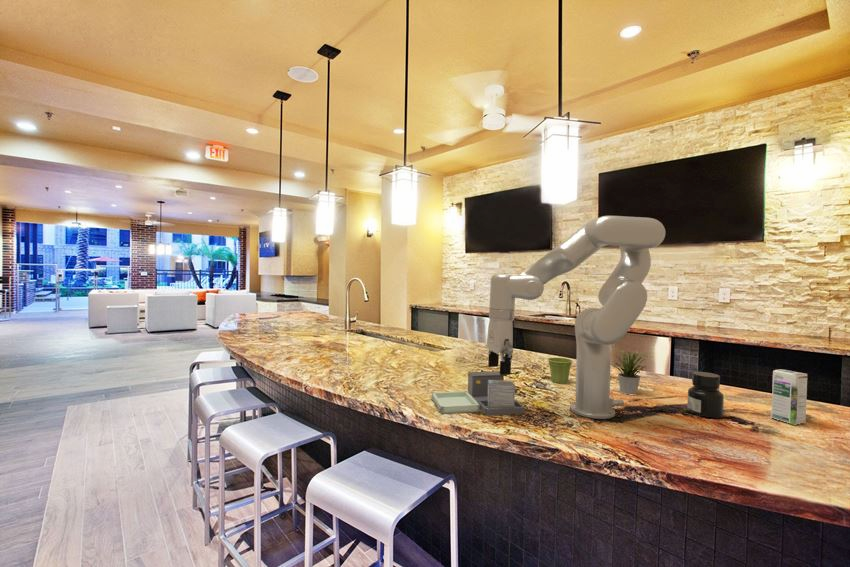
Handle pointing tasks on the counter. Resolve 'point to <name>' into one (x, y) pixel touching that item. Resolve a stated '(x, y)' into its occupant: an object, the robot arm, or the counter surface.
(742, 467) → the counter surface
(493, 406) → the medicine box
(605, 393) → the robot arm
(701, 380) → the ink bottle
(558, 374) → the plant pot
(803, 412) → the syrup box
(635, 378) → the house plant
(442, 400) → the tray
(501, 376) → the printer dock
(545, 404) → the counter surface
